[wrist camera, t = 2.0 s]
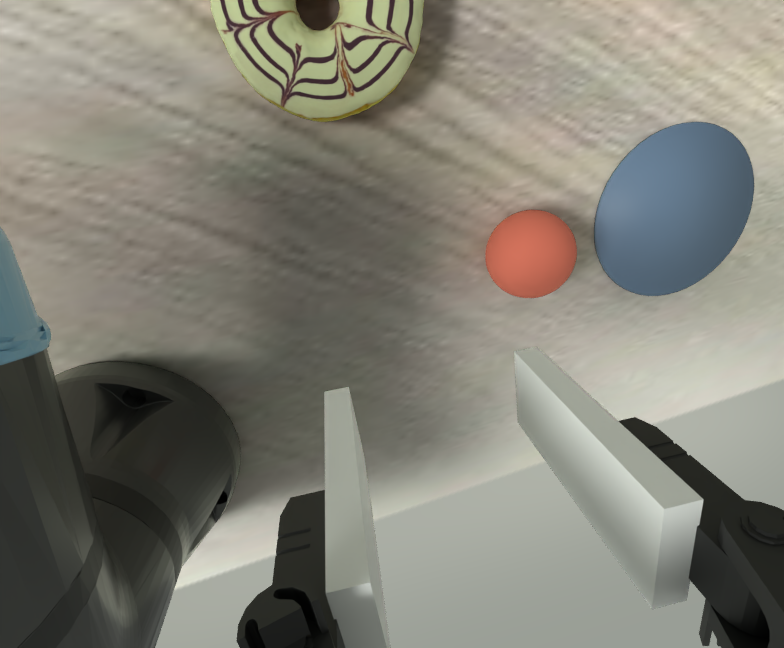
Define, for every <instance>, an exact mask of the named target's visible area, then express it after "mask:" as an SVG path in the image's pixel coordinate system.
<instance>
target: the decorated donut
mask: <svg viewBox="0 0 784 648" xmlns="http://www.w3.org/2000/svg"><path fill="white" fill-rule="evenodd" d="M338 1H339V12H338V17H337V19H336V20H335V22H334V23H333V24H332V25H330V26H329V27H328V28H326V29H324V30H320V31H317V30H312V29H310V27H309V28H308V27H307V26H306V25H305V24H304V22H302V20H301V18H300V16H299V15H300V14H299V13H298V12H297V8H296V0H210V3H211V12H212V14H213V17H214V20H215V23H216V27H217V29H218V31H219V34H220V36H221V37H222V39H223V42H224V44H225V46H226V49H227V51H228V53H229V55H230V57H231V59H232V61H233V62H234V64H235V66H236V67H237V69H238V70H239V71H240V72H241V74H242V76H243V77H244V78H245V79H246V80H247V82H248V83H249V84H250V85H251V86H252V87H253V88H254V90H255V91H256V92H257V93H258V94H260V95H261V96H262V97H263V98H265V99H266V100H268V101H269V102H270V103H272V104H274V105H276V106H277V107H279V108H281V109H283V110H285V111H287V112H289V113H291V114H293V115H296V116H299V117H302V118H304V119H309V120H313V121H319V122H327V121H335V120H339V119H343V118H346V117H348V116H351V115H354V114H358V113H360V112H362V111H365V110H367V109H369V108H370V107H371V106H373V105H375V104H377V103H379V102H380V101H381V100H382V99H384V98H385V97H386V96H388V95H389V94H390V93H391V92H392V91H393V90H394V89H395V88H396V87H397V85H398V84H399V83H400V81H401V79H402V78H403V76H404V75H405V73H406V71H407V70H408V68H409V66H410V64H411V62H412V60H413V58H414V56H415V54H416V52H417V49H418V46H419V42H420V32H421V27H422V23H423V19H422V14H423V8H424V0H338Z"/></svg>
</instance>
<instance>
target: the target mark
mask: <svg viewBox="0 0 784 648" xmlns="http://www.w3.org/2000/svg"><path fill="white" fill-rule="evenodd" d="M753 192H754V177H753V170H752V165H751V162H750V159H749V156H748V154H747V152H746V150H745V148H744V147H743V145H742V144H741V142H740V141H739V140H738V139H737V138H736V137H735V136H734V135H733V134H732V133H730V132H729V131H727V130H726V129H724V128H722V127H719V126H717V125H714V124H710V123H703V122H690V123H681V124H677V125H673V126H670V127H668V128H665V129H663V130H660V131H658V132H656V133H655V134H653V135H651V136H649V137H648V138H646V139H645V140H644V141H642V142H641V143H639V144H638V145H637V146H636V147H635V148H634V149H633V150H632V151H630V152H629V153H628V155H627V156H626V157H625V158H624V159H623V160H622V161H621V162H620V164H619V165H618V166H617V168H616V169H615V171H614V172H613V174H612V175H611V177H610V179H609V180H608V182H607V184H606V186H605V188H604V191H603V193H602V195H601V198H600V201H599V204H598V207H597V212H596V217H595V225H594V241H595V247H596V252H597V255H598V258H599V261H600V263H601V265H602V267H603V269H604V271H605V272H606V273H607V275H608V276H609V277H610V278H611V279H612V280H613V281H614V282H615V283H616V284H618V285H619V286H621V287H622V288H624V289H626V290H628V291H630V292H633V293H636V294H640V295H647V296H659V295H666V294H670V293H674V292H678V291H680V290H683V289H685V288H687V287H689V286H691V285H693V284H695V283H697V282H698V281H700V280H701V279H703V278H704V277H705V276H707V275H708V274H709V273H710V272H712V271H713V270H714V269H715V268H716V267H717V266H718V265H719V264H720V263H721V262H722V261H723V260H724V259H725V257H726V256H727V255H728V254H729V253H730V251H731V250H732V248H733V247H734V245H735V244H736V242H737V240H738V239H739V237H740V235H741V233H742V231H743V229H744V227H745V225H746V222H747V219H748V216H749V213H750V210H751V205H752V201H753Z"/></svg>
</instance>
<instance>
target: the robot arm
mask: <svg viewBox="0 0 784 648" xmlns="http://www.w3.org/2000/svg"><path fill="white" fill-rule="evenodd" d="M50 340H51V332H50V329H49V326H48V324H47V323H46V322H45V321H44V320H43V319H41V318H40V317H39V316H38V315H37V313H36V310H35V307H34V305H33V302H32V300H31V297H30V294H29V292H28V289H27V286H26V284H25V281H24V278H23V276H22V273H21V270H20V268H19V265H18V262H17V260H16V257H15V254H14V252H13V249H12V246H11V244H10V242H9V240H8V238H7V236H6V234H5V232H4V231H3V230H2V229H1V227H0V648H155V646H156V642H157V640H158V637H159V634H160V631H161V628H162V625H163V622H164V619H165V616H166V612H167V609H168V606H169V603H170V600H171V597H172V594H173V591H174V588H175V585H176V582H177V579H178V576H179V573H180V571H181V568H182V566H183V565H184V563H185V562H186V561H187V560H188V558H189V557H190V556H191V554H192V553H193V552H194V550H195V549H196V548H197V547H198V545H199V544H200V543H201V541H202V540H203V539H204V537H205V536H206V535H207V533H208V532H209V531H210V530H211V528H212V527H213V526H214V524H215V523H216V522H217V520H218V519H219V518H220V517H221V515H222V514H223V512H224V511H225V509H226V507H227V505H228V503H229V501H230V499H231V497H232V494H233V491H234V487H235V484H236V480H237V476H238V472H239V468H240V458H241V453H240V445H239V440H238V436H237V433H236V431H235V428H234V426H233V424H232V422H231V420H230V419H229V417H228V415H227V414H226V413H225V411H224V410H223V409H222V407H221V406H220V405H219V404H218V403H217V402H216V401H215V400H214V399H213V398H212V397H211V396H210V395H209V394H207V393H206V392H205V391H204V390H202V389H201V388H200V387H198V386H197V385H195V384H193V383H192V382H190V381H188V380H186V379H185V378H183V377H181V376H178V375H176V374H174V373H171V372H169V371H166V370H163V369H160V368H156V367H152V366H148V365H143V364H137V363H128V362H103V363H95V364H89V365H84V366H80V367H76V368H73V369H70V370H67V371H65V372H62V373H60V374H58V375H56V376H54V372H53V369H52V365H51V362H50V358H49V355H48V351H47V347H49V342H50ZM514 358H515V378H516V398H517V418H518V423H519V425H520V426H521V427H522V429H523V430H524V432H525V433H526V434H527V436H528V437H529V439H530V440H531V441H532V443H533V444H534V446H535V447H536V448H537V450H538V451H539V453H540V454H541V455H542V457H543V458H544V460H545V461H546V462H547V464H548V465H549V466H550V467H551V469H552V471H553V472H554V474H555V475H556V476H557V477H558V479H559V480H560V482H561V483H562V485H563V486H564V487H565V489H566V490H567V491H568V493H569V494H570V496H571V497H572V499H573V500H574V501H575V503H576V504H577V505H578V507H579V508H580V510H581V511H582V513H583V514H584V515H585V517H586V518H587V520H588V521H589V522H590V523H591V525H592V527H593V528H594V529H595V531H596V532H597V533H598V535H599V536H600V538H601V539H602V540H603V542H604V543H605V545H606V546H607V547H608V549H609V550H610V552H611V553H612V554H613V556H614V557H615V559H616V560H617V561H618V563H619V564H620V566H621V567H622V568H623V570H624V571H625V573H626V574H627V575H628V577H629V578H630V580H631V581H632V582H633V584H634V585H635V586H636V588H637V589H638V591H639V592H640V593H641V595H642V596H643V598H644V599H645V600H646V602H647V603H648V605H649V606H650V607H651V609H656V608H660V607H663V606H667V605H671V604H675V603H678V602H682V601H686V600H687V596H688V589H689V584H690V580H691V582H693V584H694V585H695V586H696V587H697V588H698V590H699V591H700V592H701V593H702V594H703V596H704V597H705V598H706V600H705V605H704V611H703V616H702V621H701V626H700V631H699V635H700V638H701V642H702V645H703V646H709V643H710V638H711V633H712V630H713V632H714V634H715V636H716V638H717V645H718V646H721V648H784V511H783V510H782V509H780V508H778V507H775V506H771V505H768V504H765V503H762V502H756V501H746V500H744V499H742V498H741V497H740V496H739V495H738V494H736V493H735V492H734V491H733V490H732V489H730V488H729V487H728V486H727V485H725V484H724V483H723V482H722V481H721V480H720V479H718V478H717V477H716V476H715V475H714V474H712V473H711V472H710V471H709V470H707V469H706V468H705V467H704V466H703V465H701V464H700V463H699V462H698V461H697V460H695V459H694V458H693V457H692V456H691V455H689V456H688V455H687V452H686V451H685V450H683V449H682V448H681V447H680V446H679V445H677V444H674V443H673V441H672V440H671V439H670V438H669V437H667V435H665V434H664V433H663V432H661V431H660V430H659V429H658V428H657V427H655V426H653V425H651V424H648V423H646V422H644V421H642V420H640V419H638V418H636V417H634V418H630V419H625V420H621V421H618V420H616V419H615V418H614V417H613V416H612V415H611V414H610V413H609V412H608V411H607V410H606V409H604V408H603V407H602V406H601V405H600V404H599V403H598V402H597V401H596V400H595V399H594V398H592V397H591V396H590V395H589V394H588V393H587V392H586V391H585V390H584V389H583V388H582V387H580V386H579V385H578V384H577V383H576V382H575V381H574V380H573V379H572V378H571V377H570V376H568V375H567V374H566V373H565V372H564V371H563V370H562V369H561V368H560V367H559V366H558V365H556V364H555V363H554V362H553V361H552V360H551V359H550V358H549V357H548V356H547V355H546V354H544V353H543V352H542V351H541V350H540V349H539V348H538V347H533V348H528V349H523V350H519V351H514ZM324 429H325V490H322V491H318V492H314V493H309V494H305V495H301V496H296V497H292V498H290V500H289V502H288V503H287V505H286V507H285V509H284V510H283V512H282V514H281V516H280V523H279V531H278V540H277V549H276V554H277V556H276V557H275V567H274V575H273V583H272V585H271V586H270V587H268V588H267V589H266V590H264V591H263V592H261V593H260V594H258V595H257V596H256V597H255V599H254V600H253V601H252V602H251V603H250V604H249V605H248V607H247V608H246V609H245V612H244V614H243V616H242V618H241V620H240V622H239V624H238V633H237V643H238V645H239V647H240V648H391V647H390V641H389V634H388V633H389V632H388V625H387V618H386V611H385V603H384V596H383V589H382V581H381V574H380V567H379V560H378V553H377V545H376V537H375V530H374V523H373V515H372V508H371V501H370V493H369V486H368V479H367V471H366V464H365V457H364V452H363V448H362V443H361V439H360V435H359V430H358V426H357V421H356V417H355V412H354V408H353V404H352V399H351V395H350V390H349V387H344V388H340V389H335V390H330V391H326V392H324Z"/></svg>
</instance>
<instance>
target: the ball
mask: <svg viewBox="0 0 784 648" xmlns="http://www.w3.org/2000/svg"><path fill="white" fill-rule="evenodd" d="M485 254H486V266H487V269H488V272H489V274H490V276H491V278H492V279H493V281H494V282H495V283H496V284H497V285H498V286H499V287H500V288H501V289H502V290H504V291H505V292H507V293H509V294H511V295H514V296H517V297H522V298H536V297H541V296H544V295H547V294H549V293H551V292H553V291H555V290H556V289H558V288H559V287H560V286H561V285H563V283H564V282H565V281H566V280H567V279H568V277H569V276H570V274H571V273H572V271H573V268H574V266H575V262H576V257H577V247H576V242H575V238H574V235H573V233H572V232H571V230H570V228H569V227H568V226H567V224H566V223H565V222H564V221H562V220H561V219H560V218H559V217H557V216H555V215H553V214H551V213H549V212H546V211H540V210H526V211H521V212H518V213H515V214H513V215H511V216H509V217H507V218H506V219H505V220H503V221H502V222H501V223H500V224H499V225H498V226H497V227H496V228H495V229H494V231H493V232H492V234H491V236H490V238H489V240H488V243H487V247H486V253H485Z"/></svg>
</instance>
